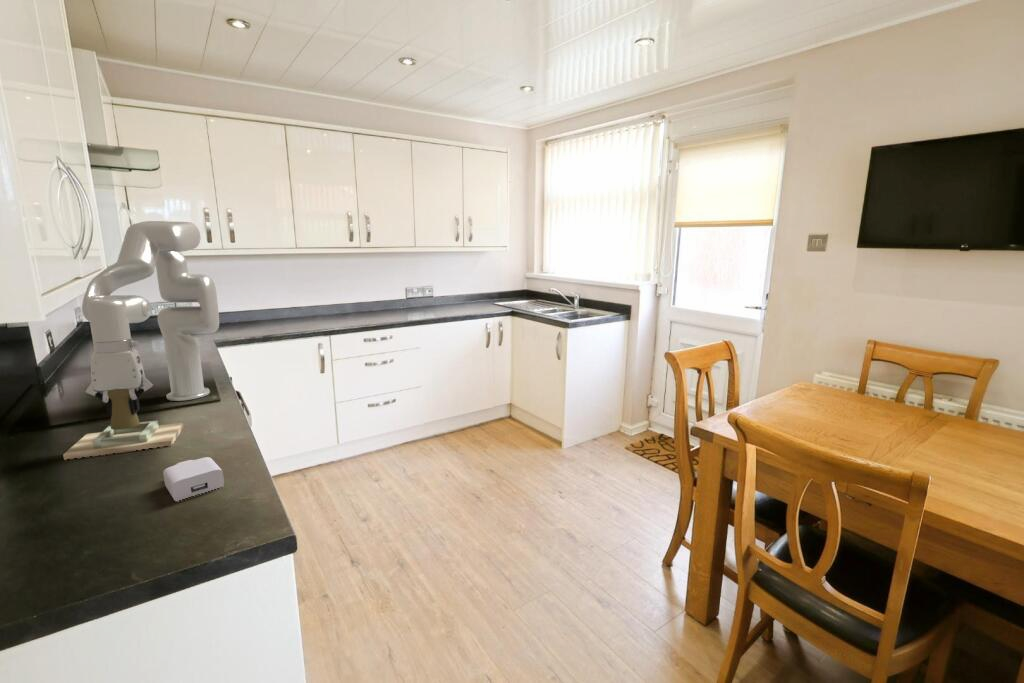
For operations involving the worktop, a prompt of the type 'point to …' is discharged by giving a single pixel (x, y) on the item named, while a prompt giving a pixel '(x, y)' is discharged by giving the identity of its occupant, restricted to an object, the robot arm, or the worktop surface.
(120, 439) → the socket board
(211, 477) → the charger
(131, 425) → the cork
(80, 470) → the worktop surface
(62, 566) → the worktop surface
